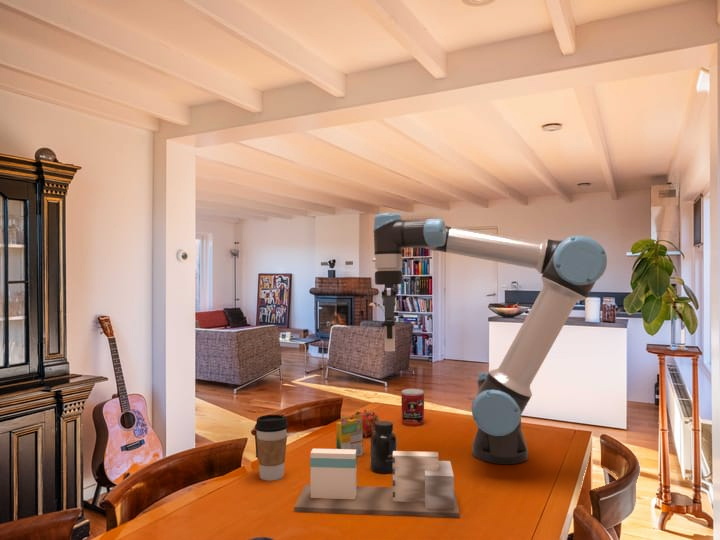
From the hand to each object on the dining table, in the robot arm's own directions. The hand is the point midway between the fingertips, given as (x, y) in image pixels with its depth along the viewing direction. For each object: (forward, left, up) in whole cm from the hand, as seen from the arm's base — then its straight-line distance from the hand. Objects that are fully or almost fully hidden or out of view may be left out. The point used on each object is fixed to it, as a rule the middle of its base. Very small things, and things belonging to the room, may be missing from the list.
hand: (389, 347), depth 141 cm
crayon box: (+12, -3, -31) cm, 33 cm away
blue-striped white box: (+12, +26, -30) cm, 41 cm away
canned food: (-6, -37, -31) cm, 49 cm away
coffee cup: (+30, +13, -31) cm, 45 cm away
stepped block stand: (+2, +26, -31) cm, 40 cm away
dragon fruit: (+10, -22, -31) cm, 39 cm away
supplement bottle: (+2, +6, -31) cm, 32 cm away
